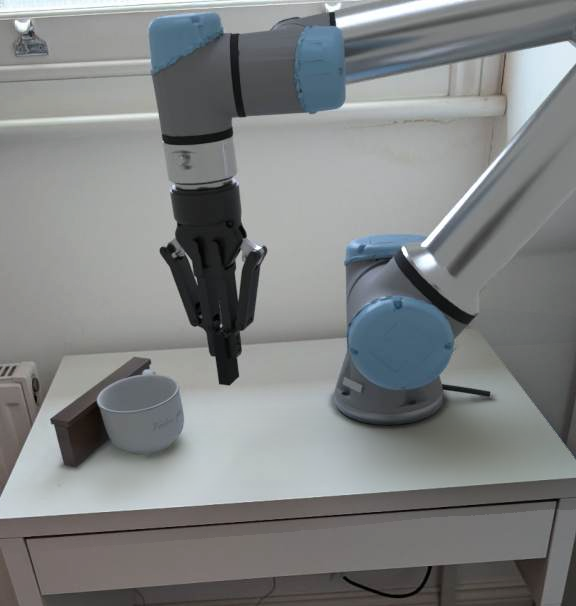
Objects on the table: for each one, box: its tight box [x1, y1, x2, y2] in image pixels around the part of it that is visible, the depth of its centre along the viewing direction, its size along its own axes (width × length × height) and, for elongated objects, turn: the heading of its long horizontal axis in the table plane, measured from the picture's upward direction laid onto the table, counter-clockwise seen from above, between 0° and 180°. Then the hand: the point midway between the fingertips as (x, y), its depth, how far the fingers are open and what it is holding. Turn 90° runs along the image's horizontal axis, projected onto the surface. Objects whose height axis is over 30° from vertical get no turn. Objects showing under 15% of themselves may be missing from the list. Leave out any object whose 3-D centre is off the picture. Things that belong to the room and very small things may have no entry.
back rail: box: [49, 356, 152, 468], centre depth 111 cm, size 3×20×7 cm, turn 157°
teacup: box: [97, 368, 185, 455], centre depth 109 cm, size 14×11×8 cm
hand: (229, 380), depth 101 cm, fingers closed
